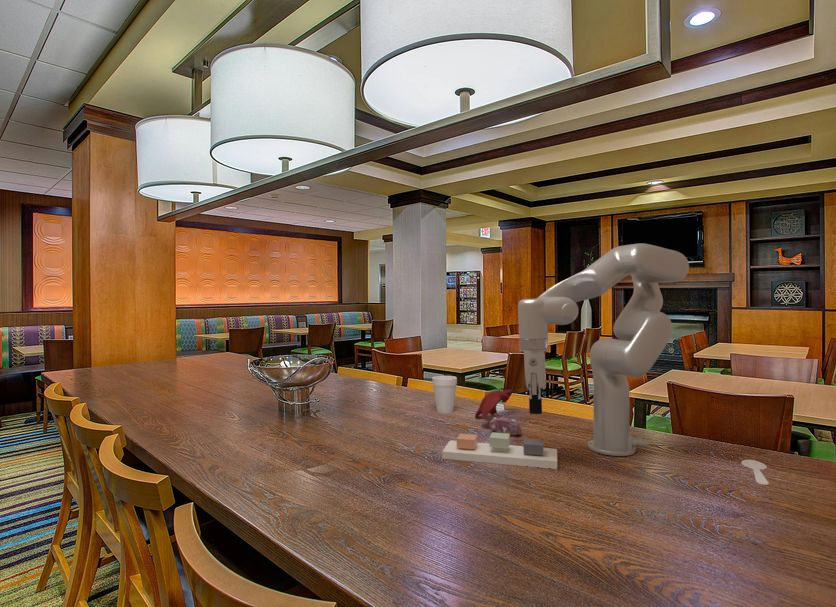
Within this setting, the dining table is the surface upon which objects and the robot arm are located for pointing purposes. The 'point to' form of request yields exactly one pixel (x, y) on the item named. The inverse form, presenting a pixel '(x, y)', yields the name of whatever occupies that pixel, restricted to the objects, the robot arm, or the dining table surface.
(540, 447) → the charcoal key
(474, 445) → the terracotta key
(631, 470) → the dining table surface
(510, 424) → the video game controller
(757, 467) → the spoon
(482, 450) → the keypad base
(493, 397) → the decorative bird sculpture
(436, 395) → the foam cup
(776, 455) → the dining table surface
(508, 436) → the sage key
